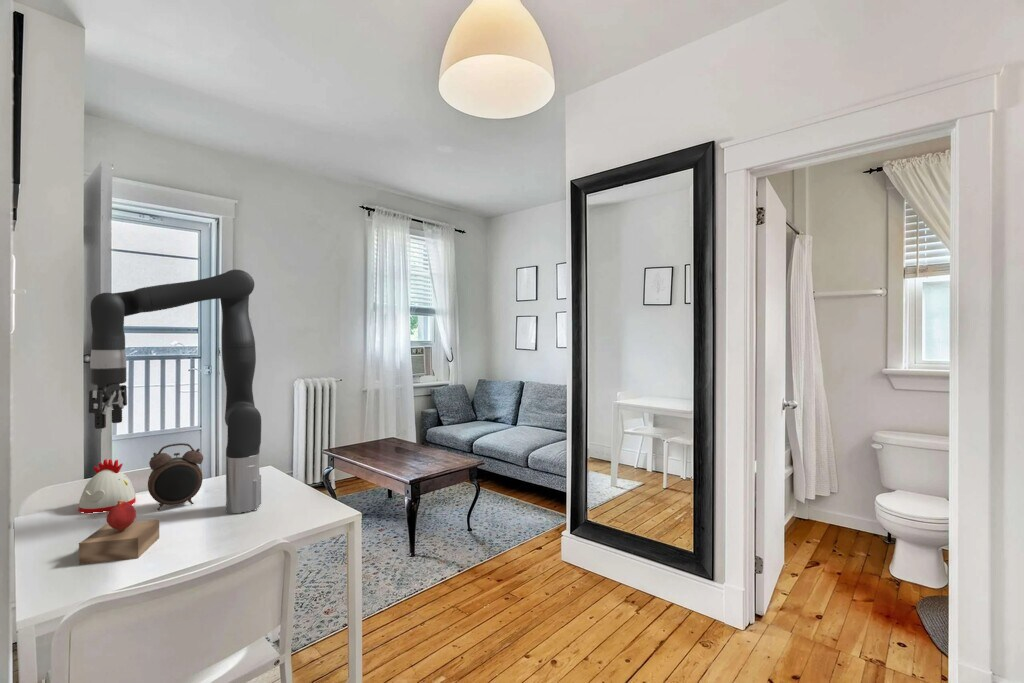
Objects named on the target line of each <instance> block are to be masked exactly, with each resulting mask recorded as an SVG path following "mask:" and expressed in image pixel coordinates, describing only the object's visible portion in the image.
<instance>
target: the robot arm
mask: <svg viewBox="0 0 1024 683" xmlns="http://www.w3.org/2000/svg"><path fill="white" fill-rule="evenodd" d="M253 278H254V277H253V276H251V274H249V273H248V272H247V271H245V270H242V269H230V270H228V271H226V272H224V273H220V274H216V275H213V276H210V277H206V278H200V279H196V280H189V281H180V282H172V283H164V284H159V285H151V286H145V287H140V288H136V289H134V290H128V291H120V292H101V293H98V294H97V295H95V296H94V297H93V298H92V299H91V301H90V317H91V318H90V319H91V320H90V321H91V327H92V328H91V329H92V330H91V331H92V332H91V353H90V358H89V359H90V361H89V363H90V365H89V366H90V367H89V368H90V369H89V370H90V373H89V374H90V377H89V378H90V379H89V380H90V384H91V385H96V386H97V387H96V389H93V390H92V389H90V390H89V392H88V414H92V415H93V416H94V428H95V429H96V430H98V429H99V430H101V429H105V428H106V427H107V414H106V413H107V411H108V408H111V423H112V424H120V423H123V409H124V408H125V406H127V405H128V397H127V393H128V392H127V385H125V384H126V383H127V355H126V335H125V330H124V326H125V317H128V316H132V315H136V314H141V313H151V312H158V311H163V310H168V309H169V310H170V309H173V308H179V307H183V306H186V305H191V304H194V303H199V302H203V301H209V300H210V301H211V300H218V299H220V305H221V312H222V313H221V314H222V323H221V359H222V368H223V377H224V381H225V387H226V388H225V389H226V390H225V392H226V395H225V396H226V397H225V398H226V400H225V412H224V422H225V424H226V426H227V438H226V439H227V443H226V444H227V445H226V448H225V511H227V512H226V513H228V512H229V513H228V514H232V513H238V514H242V513H241V512H245V513H247V512H246V511H250V512H252V511H251V510H254V511H256V510H255V509H257V508H258V507H260V506H261V505H262V475H261V474H260V448H261V443H262V416H261V413H260V411H259V410H258V409H257V408H256V407H255V400H254V394H253V382H254V378H255V377H254V376H255V370H256V362H257V359H256V358H257V356H256V354H257V353H256V340H255V336H254V331H253V327H252V323H251V321H250V315H249V307H250V306H249V302H250V301H249V300H250V295H251V294H252V293H253V292H254V289H255V280H254V279H253ZM260 504H261V505H260ZM259 505H260V506H259ZM258 509H259V508H258ZM258 509H257V510H258Z"/></svg>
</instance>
